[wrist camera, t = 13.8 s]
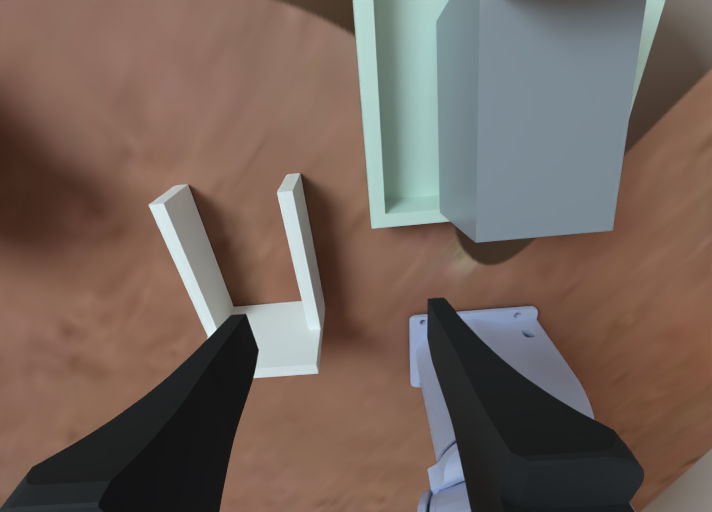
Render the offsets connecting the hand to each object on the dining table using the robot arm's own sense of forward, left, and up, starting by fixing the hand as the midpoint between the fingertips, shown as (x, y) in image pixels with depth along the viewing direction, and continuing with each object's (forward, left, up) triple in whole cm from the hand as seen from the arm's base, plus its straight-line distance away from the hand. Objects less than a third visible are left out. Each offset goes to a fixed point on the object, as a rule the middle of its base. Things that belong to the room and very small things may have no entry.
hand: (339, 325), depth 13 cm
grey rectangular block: (-8, -6, -8) cm, 13 cm away
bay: (+6, +1, -9) cm, 11 cm away
